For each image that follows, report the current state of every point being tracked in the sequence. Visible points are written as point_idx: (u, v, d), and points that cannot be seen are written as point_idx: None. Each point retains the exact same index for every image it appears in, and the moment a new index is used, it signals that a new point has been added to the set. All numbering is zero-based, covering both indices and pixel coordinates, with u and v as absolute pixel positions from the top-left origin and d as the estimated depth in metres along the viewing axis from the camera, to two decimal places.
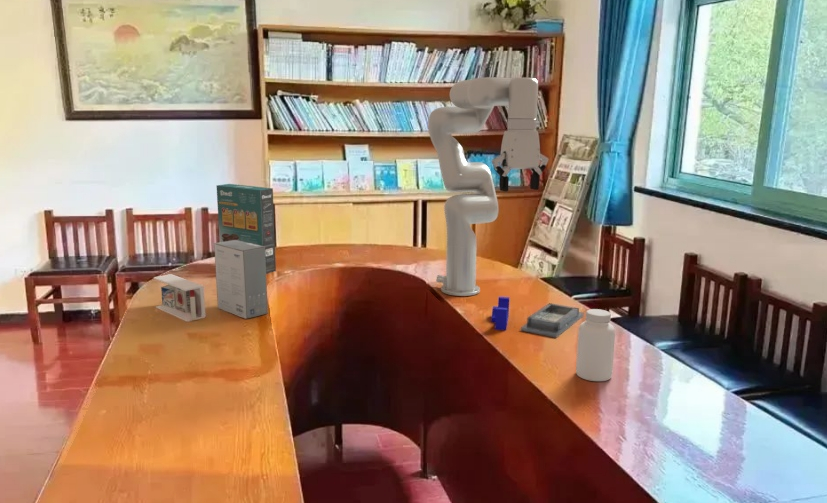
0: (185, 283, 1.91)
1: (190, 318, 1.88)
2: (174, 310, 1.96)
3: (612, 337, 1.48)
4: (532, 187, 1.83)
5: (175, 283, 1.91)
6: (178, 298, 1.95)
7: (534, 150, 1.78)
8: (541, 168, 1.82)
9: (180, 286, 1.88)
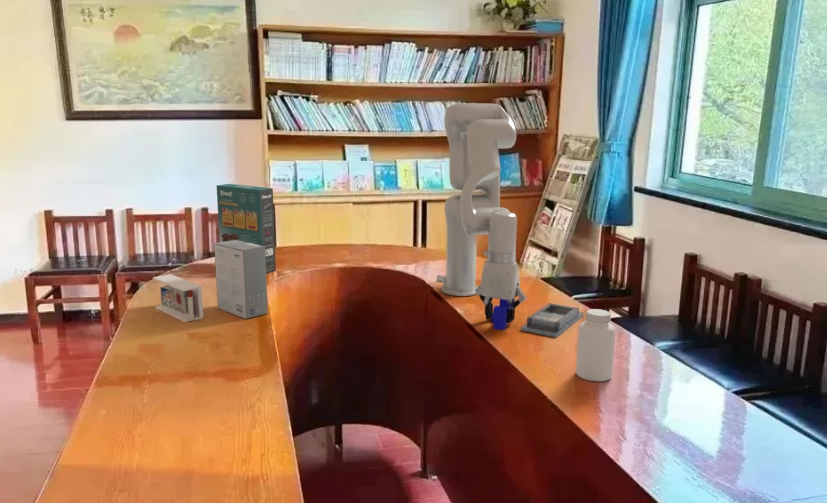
0: (183, 283, 1.90)
1: (188, 319, 1.88)
2: (173, 310, 1.96)
3: (612, 337, 1.48)
4: (489, 317, 1.89)
5: (173, 283, 1.90)
6: (177, 298, 1.94)
7: None
8: None
9: (178, 286, 1.87)
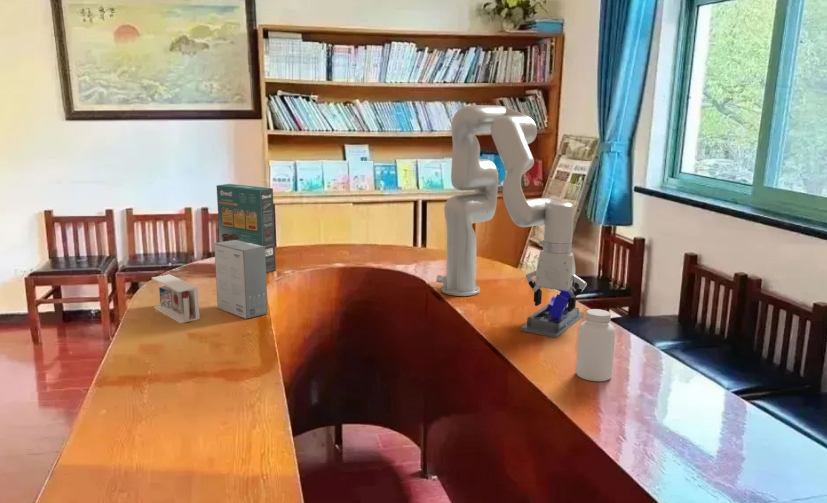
0: (180, 284, 1.90)
1: (184, 319, 1.87)
2: (171, 310, 1.95)
3: (612, 337, 1.48)
4: (538, 303, 1.89)
5: (170, 284, 1.90)
6: (174, 299, 1.94)
7: None
8: None
9: (174, 287, 1.87)
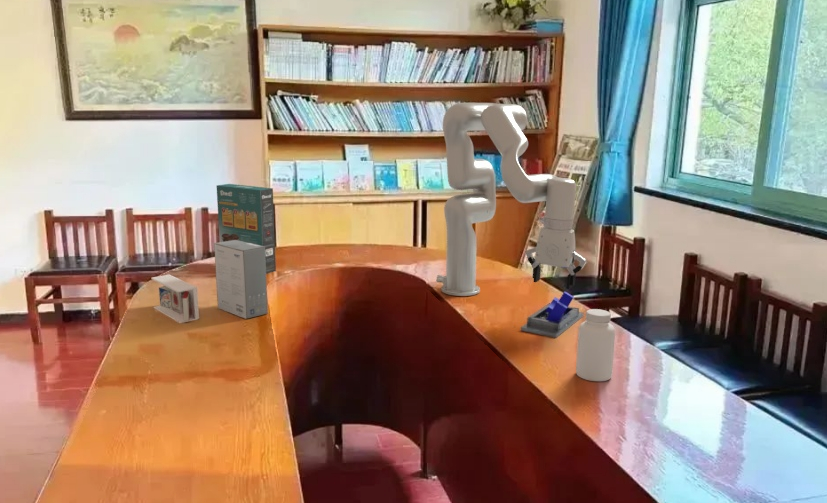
0: (180, 284, 1.90)
1: (183, 320, 1.87)
2: (171, 310, 1.95)
3: (612, 337, 1.48)
4: (537, 280, 1.88)
5: (170, 284, 1.90)
6: (174, 299, 1.94)
7: None
8: None
9: (174, 287, 1.87)
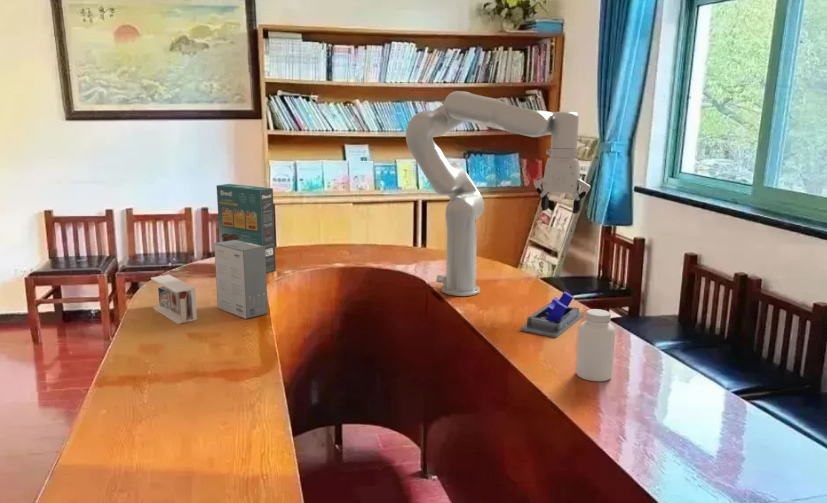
0: (178, 284, 1.89)
1: (181, 320, 1.87)
2: (169, 311, 1.95)
3: (612, 337, 1.48)
4: (545, 208, 2.04)
5: (168, 284, 1.89)
6: (172, 299, 1.93)
7: None
8: None
9: (172, 287, 1.86)
